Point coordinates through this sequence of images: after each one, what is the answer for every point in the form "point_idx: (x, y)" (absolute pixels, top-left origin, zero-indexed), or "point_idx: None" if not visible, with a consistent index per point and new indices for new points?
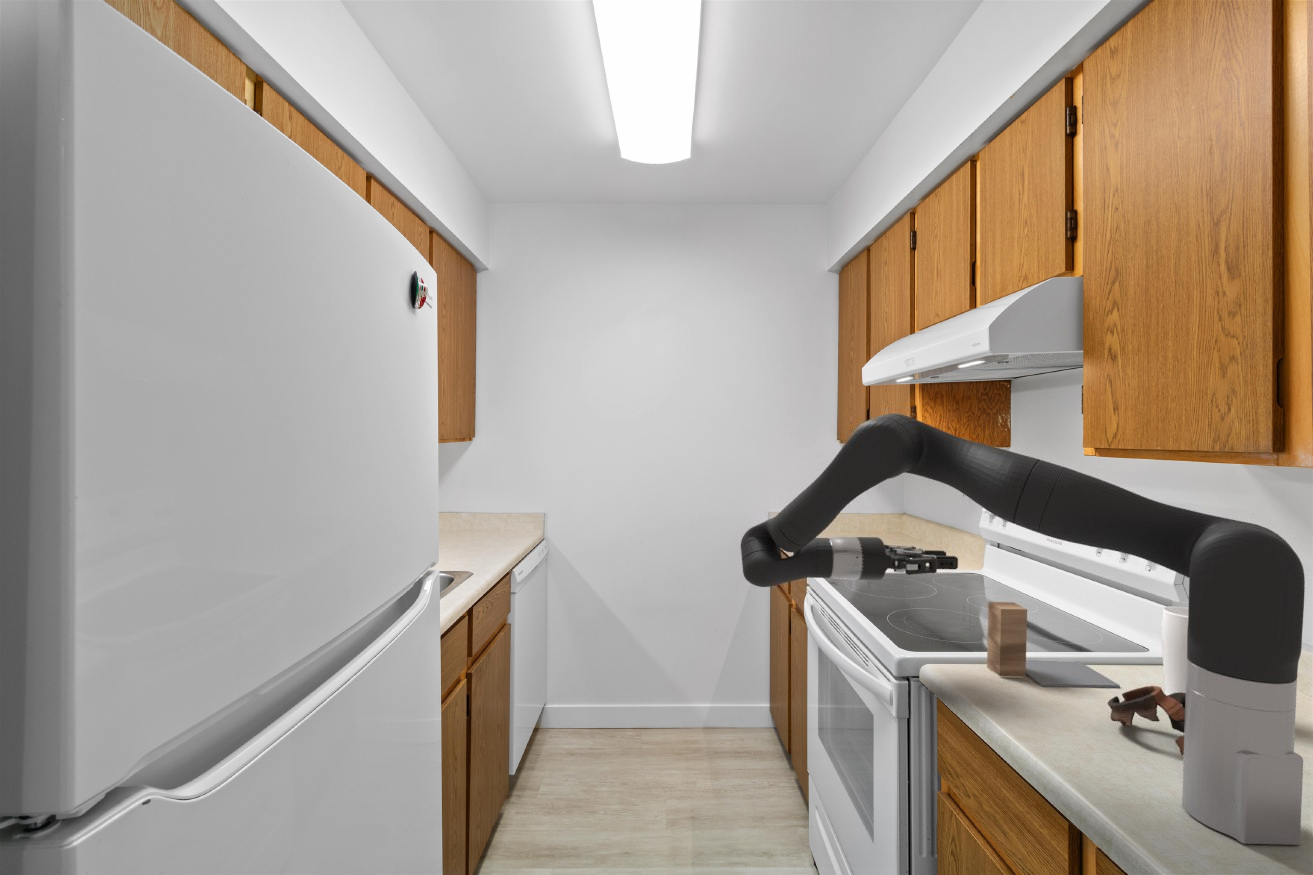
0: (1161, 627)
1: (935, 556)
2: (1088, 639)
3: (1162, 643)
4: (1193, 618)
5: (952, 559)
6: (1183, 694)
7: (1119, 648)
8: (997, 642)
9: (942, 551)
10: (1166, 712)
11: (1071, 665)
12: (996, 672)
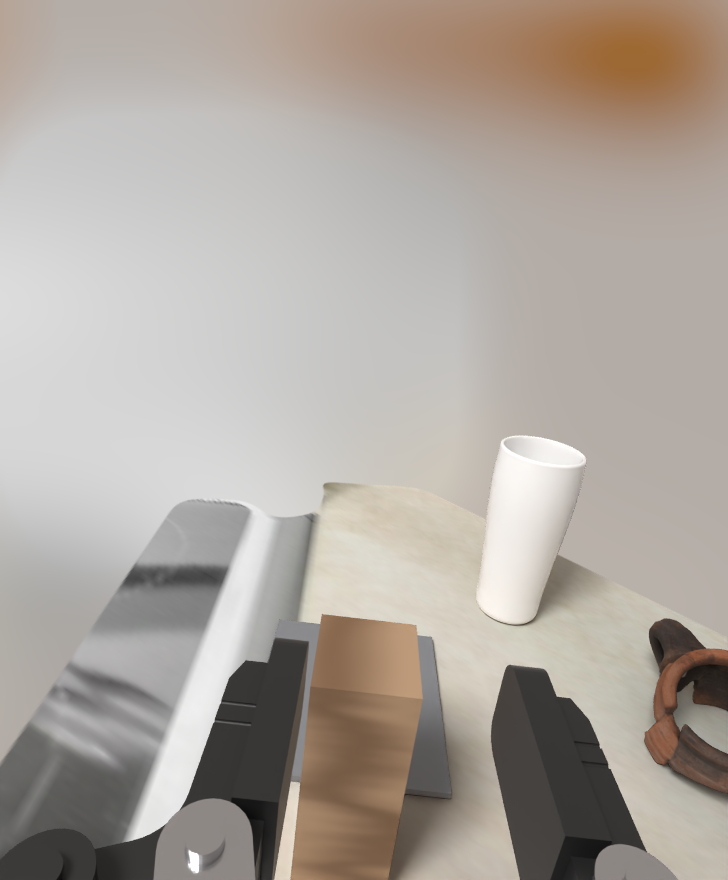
0: (525, 498)
1: (665, 871)
2: (164, 536)
3: (523, 527)
4: None
5: (574, 719)
6: (683, 626)
7: (226, 529)
8: (378, 807)
9: (305, 656)
10: None
11: (315, 648)
12: None
